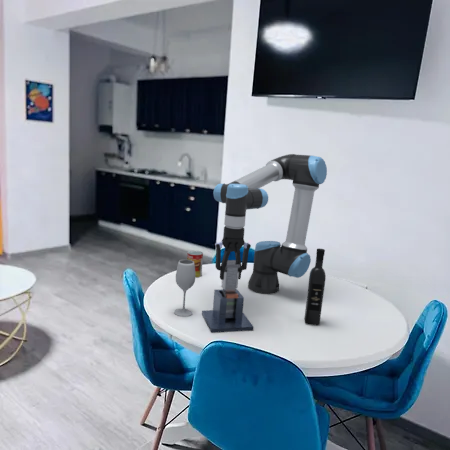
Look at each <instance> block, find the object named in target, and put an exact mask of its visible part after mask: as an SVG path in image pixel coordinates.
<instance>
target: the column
mask: <svg viewBox="0 0 450 450" xmlns="http://www.w3.org/2000/svg"><path fill="white" fill-rule="evenodd" d="M225 267H226V268H225V271H226V272H227V274H226V286H225V289H223V288H222V289H223V291H222V296H223V297H226V294H236V284H237V273H238V268H240V264H239V263H237V262H236V259H231V260H229V259H228V261H227V263H226V265H225ZM234 308H235V298H227V306H226V318H234V312H235V309H234Z"/></svg>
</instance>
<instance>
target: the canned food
mask: <svg viewBox="0 0 450 450" xmlns="http://www.w3.org/2000/svg"><path fill="white" fill-rule="evenodd" d="M203 258H204V252H203V251H200V250H195V249H193V250H188V251H187V255H186V260H192V261H194V265H195V279H196V278H197V279H198V278H201V277H202V273H203V272H202V271H203V262H204V261H203Z"/></svg>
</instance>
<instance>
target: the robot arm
mask: <svg viewBox="0 0 450 450" xmlns="http://www.w3.org/2000/svg"><path fill="white" fill-rule="evenodd" d="M327 172H328V169H327V164H326V161H325V160H324V159H323V158H322V157H320V156H316V155H307V154H295V153H290V154H285V155H282V156H279V157H275V158H273V159H271V160H270V161H267V162H266V164H265V165H264V166H262V167H259V168H257V169H256V170H254V171H252V172H250V173H248V174H245V175H243V176H241V177H240V178H238V179H236V180H234V181H232V182H229V183H217V185H215V187H214V189H213V193H212V195H213V198H214V200H215V201H216V202H219V203H222V204H225V212H224V223H223V225H224V227H223V237H222V239H221V241H220V242H215V243H214V246H215V269H216V270H217V271H219V278H220V280H221V289H225V286H226V274H227V272H226V271H225V268H226V267H225V265H226V263H227V261H228V260H229V257H230V255H231V253H233V252H234V254H235V256H234V257H235V260H236V262H237V263H239V264H240V268H238V273H237V284H236V289H237V290H238V288H239V287H238V286H239V280H241V278H242V273H243V271H246V270H247V266H248V260H249V251H250V249H251V247H252V244H250V243H249V242H245V239H244V238H245V226H246V213H247V210H257V209H258V210H259V209H261V208H264V207H266V205H267V204H268V203H269V194H268V192H267V191H266V190H265V189H263V188H262V187H264V186H266V185H268V184H270V183H272V182H279V181H280V180H290V181H292V186H293V187H294V192H293V193H294V194H293V199H292V205H291V210H290V216H289V221H288V225H287V231H286V236H285V237H286V238H285V241H284V242H282V243H281V242H280V241H275V240H263V241H258V242H256V243H255V248H254V251H253V252H254V254H253V255H254V256H253V267H252V268H253V269H252V273H251V275H250V277H249V280H248V283H247V288H248V290H250V291H251V292H253V293H254V292H255V293H258V294H261V295H262V294H264V295H273V294H276V293H278V292H279V291H280V287H281V285H280V281H279V277H278V276H279V275H278V273H280V274H283V275H286V276H289V277H293V278H297V279H298V278H301V277H303V276H304V275H305V274H306V273H307V272H308V270H309V267H310V265H311V261H312V260H311V255H310V254H309V253H308V247H307V246H306V241H307V235H308V234H307V233H308V229H309V223H310V219H311V213H312V208H313V203H314V202H313V201H314V195H315V192H316V191H317V190H319V188H320V185H323V184H324V183H325V182H326V181H325V180H326V179H327V175H328V173H327ZM222 247H224V251H223V252H224V253H223V256H222ZM242 247H243V253H242V261H241V249H242ZM221 256H222V257H221ZM221 258H222V260H221Z"/></svg>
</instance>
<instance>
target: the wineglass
mask: <svg viewBox="0 0 450 450" xmlns="http://www.w3.org/2000/svg"><path fill="white" fill-rule="evenodd" d="M175 272H176V273H175V283H176V285H177V287H178V288H179V289H181V290H182V291H183V292H182V293H183V297H182V298H183V300H182V308H177V309H175V310H174V311H173V313H174V315H175V316H177V317H190V316H192V315H193V311H192V310H191V309H189V308H186V306H185V305H186V293H187V291H188V290H189V289H191V288H192V287H193V286H194V284H195V281H196V278H195V265H194V261H192V260H187V259H179V261H178V263H177V267H176V271H175Z"/></svg>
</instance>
